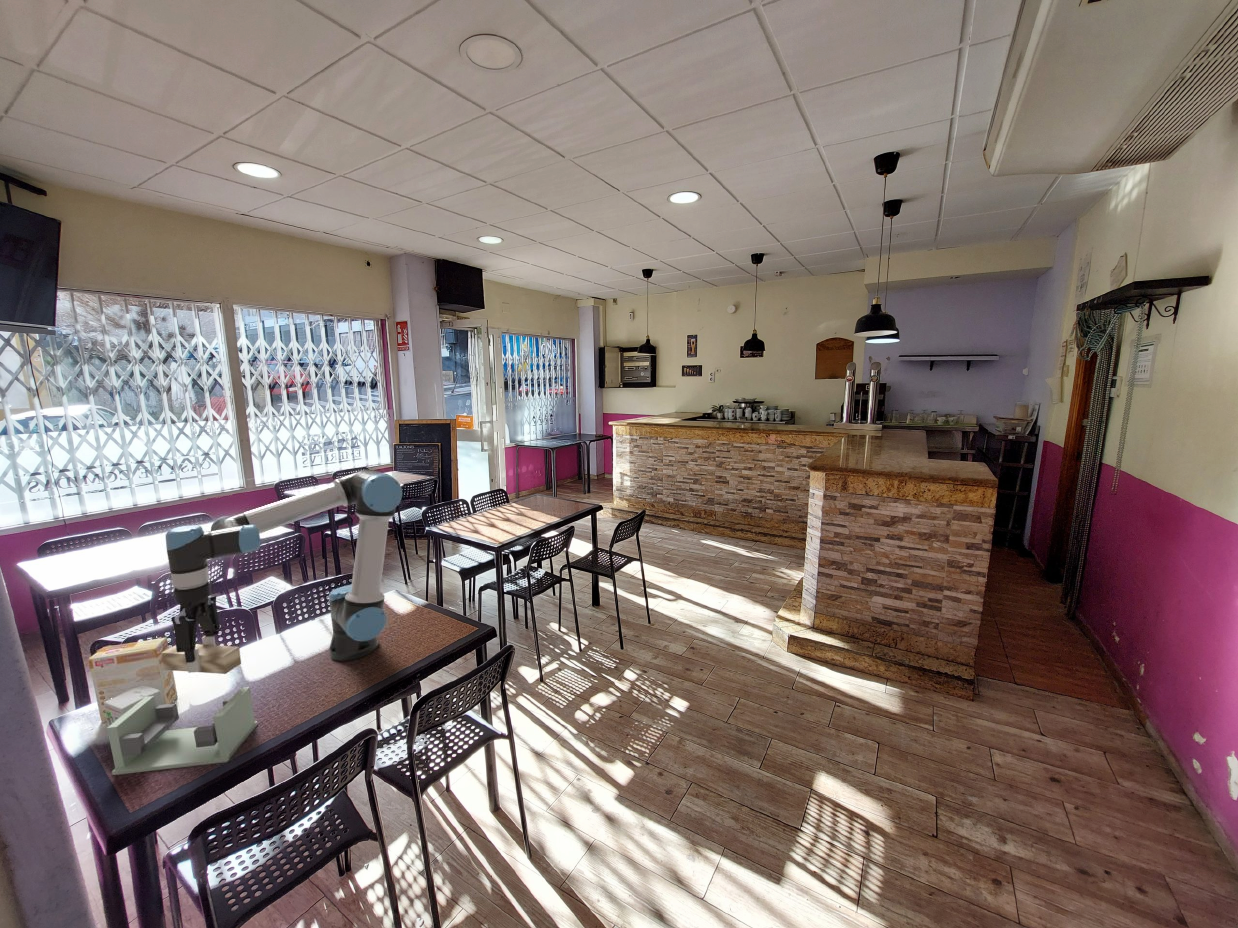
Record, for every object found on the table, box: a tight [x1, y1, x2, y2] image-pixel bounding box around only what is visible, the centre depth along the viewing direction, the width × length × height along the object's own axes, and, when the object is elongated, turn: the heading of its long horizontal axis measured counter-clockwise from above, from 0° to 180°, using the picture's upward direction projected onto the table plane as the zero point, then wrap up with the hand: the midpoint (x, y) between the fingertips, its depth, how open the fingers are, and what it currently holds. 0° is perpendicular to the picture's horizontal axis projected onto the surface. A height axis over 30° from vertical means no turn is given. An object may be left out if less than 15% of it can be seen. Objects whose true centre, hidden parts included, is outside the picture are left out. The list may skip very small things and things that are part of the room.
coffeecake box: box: [87, 637, 178, 723], centre depth 144 cm, size 15×7×20 cm, turn 110°
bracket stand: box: [106, 686, 259, 776], centre depth 128 cm, size 25×14×12 cm, turn 99°
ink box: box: [104, 685, 163, 727], centre depth 134 cm, size 9×8×12 cm
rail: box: [162, 643, 242, 675], centre depth 136 cm, size 18×5×5 cm, turn 85°
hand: (203, 664), depth 136 cm, fingers closed on rail, 6 cm apart
